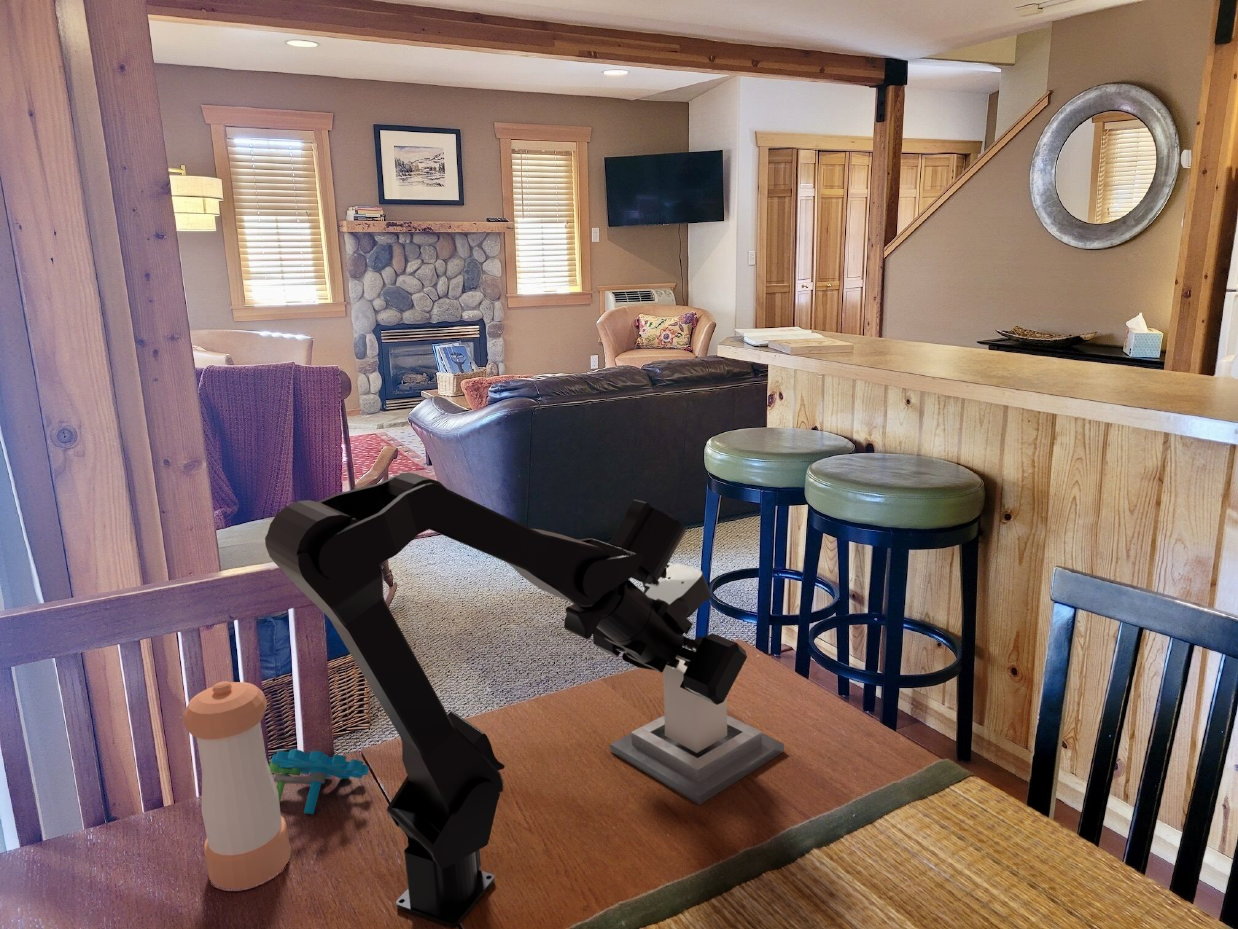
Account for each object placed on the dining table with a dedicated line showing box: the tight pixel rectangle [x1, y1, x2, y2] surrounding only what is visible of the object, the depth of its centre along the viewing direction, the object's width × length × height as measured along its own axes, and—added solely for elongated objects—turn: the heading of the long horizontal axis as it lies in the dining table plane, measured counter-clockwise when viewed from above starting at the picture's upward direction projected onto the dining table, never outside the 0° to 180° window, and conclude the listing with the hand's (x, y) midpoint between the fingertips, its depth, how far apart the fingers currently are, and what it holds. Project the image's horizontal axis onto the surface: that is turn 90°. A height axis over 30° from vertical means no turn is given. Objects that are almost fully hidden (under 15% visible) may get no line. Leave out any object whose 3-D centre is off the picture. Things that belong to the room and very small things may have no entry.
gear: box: [269, 748, 370, 815], centre depth 91 cm, size 11×6×10 cm
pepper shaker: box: [182, 680, 292, 889], centre depth 80 cm, size 7×7×19 cm
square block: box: [662, 648, 728, 753], centre depth 97 cm, size 5×5×9 cm
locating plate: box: [609, 714, 785, 806], centre depth 98 cm, size 14×14×2 cm
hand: (703, 678), depth 97 cm, fingers closed on square block, 5 cm apart
